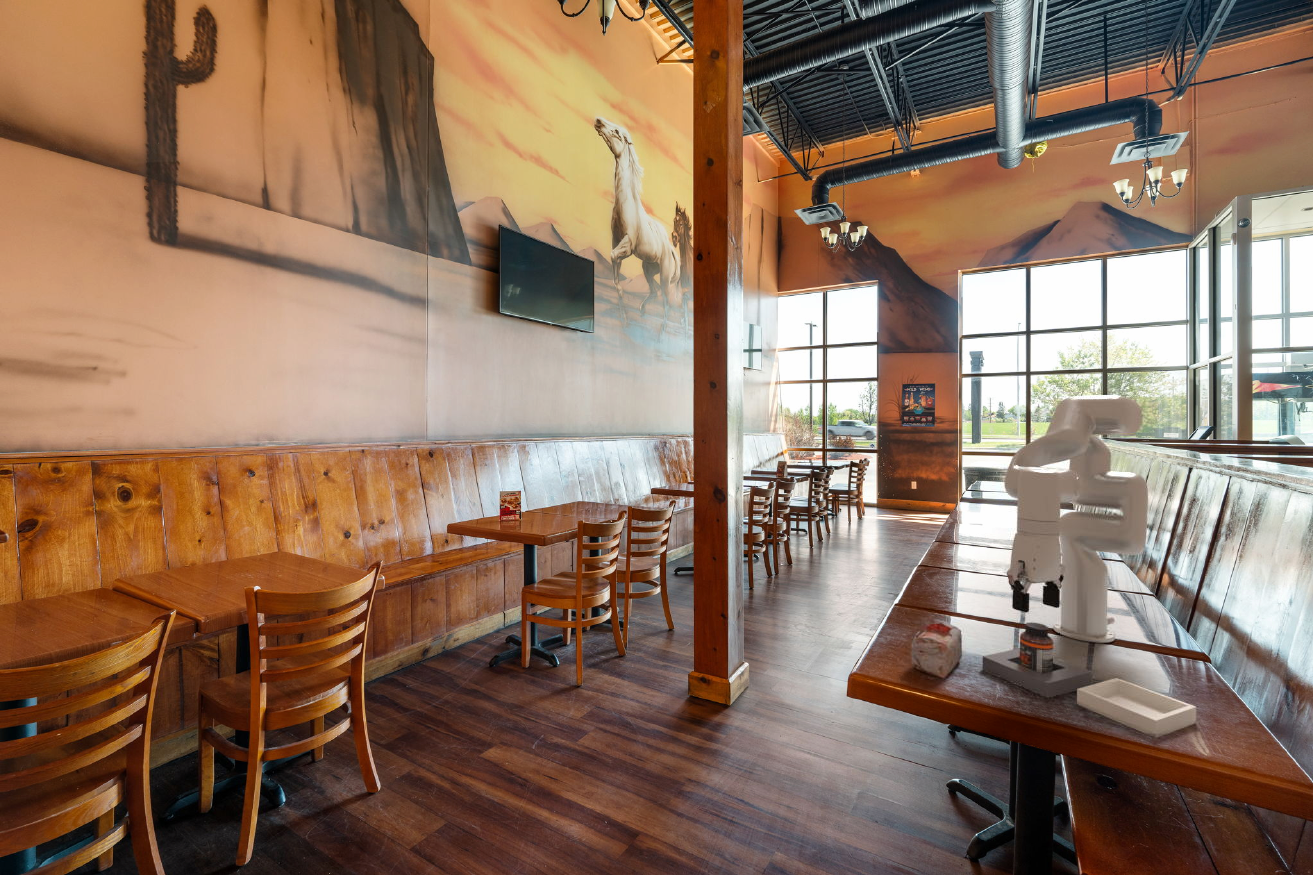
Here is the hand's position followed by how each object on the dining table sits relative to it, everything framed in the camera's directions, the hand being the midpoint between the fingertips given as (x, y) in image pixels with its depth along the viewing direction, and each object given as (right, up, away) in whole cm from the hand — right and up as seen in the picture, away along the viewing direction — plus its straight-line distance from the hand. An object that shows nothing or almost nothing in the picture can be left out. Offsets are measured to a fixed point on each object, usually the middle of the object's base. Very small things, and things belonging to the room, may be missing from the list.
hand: (1035, 608), depth 119 cm
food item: (-18, -15, +6) cm, 24 cm away
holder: (0, -15, +1) cm, 15 cm away
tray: (+9, -15, -14) cm, 23 cm away
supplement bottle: (0, -15, +1) cm, 15 cm away
